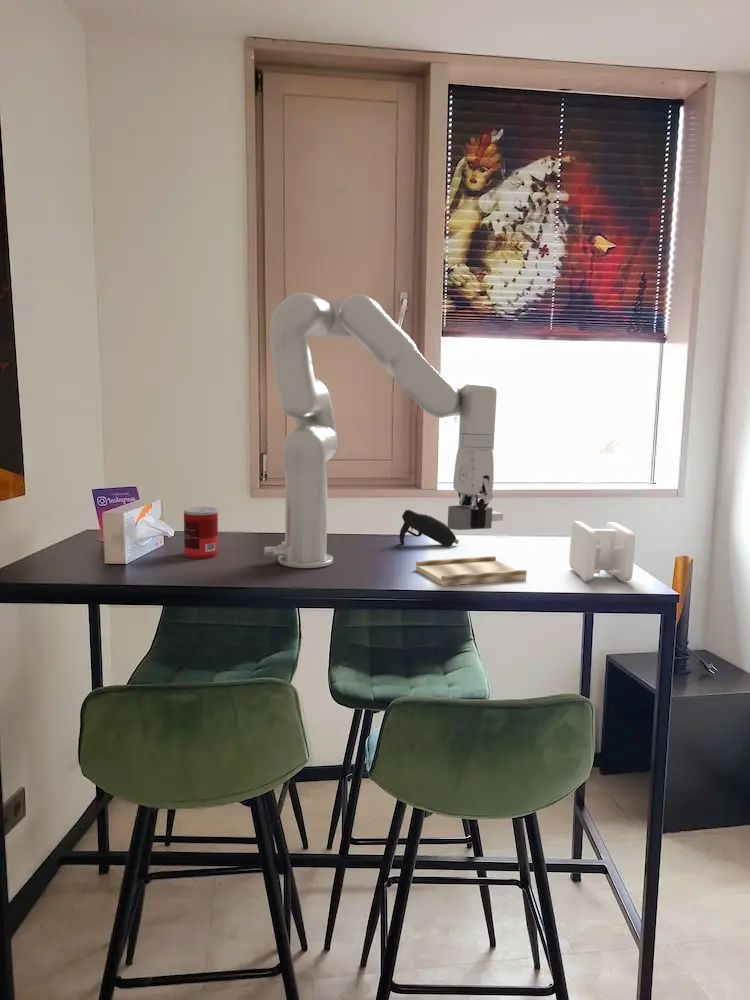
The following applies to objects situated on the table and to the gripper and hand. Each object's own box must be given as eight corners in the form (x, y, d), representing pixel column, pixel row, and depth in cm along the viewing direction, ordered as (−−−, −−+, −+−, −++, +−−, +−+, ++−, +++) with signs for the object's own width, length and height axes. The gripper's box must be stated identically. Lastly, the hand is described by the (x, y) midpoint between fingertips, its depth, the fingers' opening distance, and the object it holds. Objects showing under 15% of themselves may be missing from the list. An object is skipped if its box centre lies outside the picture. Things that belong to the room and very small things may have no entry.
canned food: (220, 551, 172) (220, 507, 170) (214, 559, 164) (213, 512, 163) (188, 551, 172) (188, 506, 170) (180, 558, 164) (180, 512, 162)
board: (443, 586, 147) (443, 577, 147) (415, 569, 160) (415, 561, 159) (526, 579, 154) (526, 570, 154) (493, 564, 167) (493, 556, 167)
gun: (444, 567, 185) (463, 535, 184) (390, 538, 184) (409, 505, 183) (443, 565, 188) (462, 532, 187) (390, 536, 187) (408, 503, 186)
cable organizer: (566, 567, 166) (570, 518, 165) (611, 568, 166) (615, 519, 165) (585, 584, 152) (589, 531, 150) (634, 586, 152) (639, 532, 150)
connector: (453, 530, 151) (454, 509, 150) (443, 526, 155) (444, 505, 155) (504, 527, 156) (505, 507, 155) (493, 524, 160) (494, 504, 159)
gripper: (443, 439, 159) (439, 519, 162) (480, 445, 143) (475, 534, 146) (472, 439, 161) (468, 518, 164) (512, 445, 146) (507, 532, 149)
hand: (472, 524), depth 155 cm, fingers closed on connector, 4 cm apart
